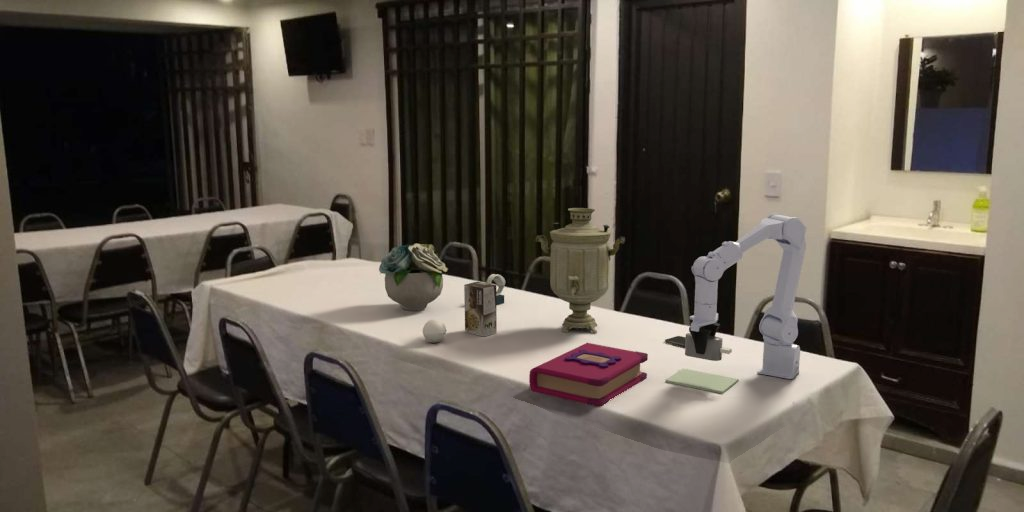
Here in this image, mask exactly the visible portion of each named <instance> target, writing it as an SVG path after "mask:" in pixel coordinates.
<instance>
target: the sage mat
mask: <svg viewBox="0 0 1024 512" xmlns="http://www.w3.org/2000/svg"><path fill="white" fill-rule="evenodd" d="M664 380H665V381H664V382H665V383H668V384H673V385H677V386H678V385H679V386H683V387H687V388H688V387H689V388H693V389H698V390H702V391H703V390H704V391H708V392H713V393H719V394H721V395H722V394H724V393H726V392H727V391H728V390H730V388H732V387H733V386H735V385H736V384H737V383H738V382H739V381H740V379H739V378H736V377H731V376H726V375H725V376H724V375H720V374H716V373H715V374H713V373H709V372H705V371H704V372H703V371H698V370H695V369H694V370H693V369H688V368H681V369H680V370H678V371H677V372H675V373H674V374H672V375H670V376H669V377H667V378H666V379H664Z"/></svg>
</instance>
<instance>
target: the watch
mask: <svg viewBox="0 0 1024 512" xmlns="http://www.w3.org/2000/svg"><path fill="white" fill-rule="evenodd" d="M492 281H493V282H494V283H495V285H497V286H496V287H498V288H497V289H496V306H499V305H503V304H505V295H504V294H502V292H503V291H504V288H505V285H506V280H505V277H503V276H502V275H501V274H495V273H492V274H490V275H489V276H488V277H487V279H486V282H485V283H488V284H492Z"/></svg>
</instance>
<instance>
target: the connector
mask: <svg viewBox="0 0 1024 512" xmlns="http://www.w3.org/2000/svg"><path fill="white" fill-rule="evenodd" d="M685 337H686V340H685V348H684V355H685V356H687V357H691V358H696V359H702V360H707V361H712V362H719V361H722V358H723V357H722V356H723V354H724V355H725V354H727V355H730V354H731V353H732V352H733V349H732V348H730V347H725V346H723V338H722V337H721V336H720V337H719V336H716V335H715V336H709V337H708V340H707V344H706V350H705V353H704V354H697V353H696V350H695V345H694V341H693V338H692V335H691V333H690V332H688V333H685Z"/></svg>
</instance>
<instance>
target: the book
mask: <svg viewBox="0 0 1024 512" xmlns="http://www.w3.org/2000/svg"><path fill="white" fill-rule="evenodd" d="M648 357H649V355H648V353H647V352H641V351H634V350H630V349H628V350H627V349H622V348H618V347H611V346H607V345H601V344H597V343H591V342H586V343H584V344H582V345H579V346H577V347H575V348H573V349H571V350H569V351H567V352H565V353H562V354H560V355H558V356H556V357H554V358H552V359H550V360H548V361H545V362H543V363H541V364H540V365H537V366H535V367H533V368H531V369H530V370H529V377H528V379H529V380H528V382H529V388H530V390H531V391H532V392H535V393H537V394H542V395H546V396H551V397H556V398H560V399H564V400H569V401H572V402H577V403H581V404H586V405H589V406H593V407H603V406H605V405H607V404H608V403H609V402H610V401H611V400H610V399H612V398H613V399H615V398H616V397H615V396H617V395H618V396H620V395H622V394H623V393H625V392H627V391H628V390H630V389H631V388H633V387H634V385H635V386H636V385H638V384H639V383H641V382H643V381H644V380H645V381H646V380H647V378H648V373H647V372H644V371H641V364H643V363H645V362H647V361H648V359H649V358H648ZM632 386H633V387H632ZM629 388H630V389H629ZM627 389H628V390H627ZM624 391H625V392H624ZM622 392H623V393H622ZM621 393H622V394H621ZM619 394H620V395H619ZM618 396H617V397H618ZM614 397H615V398H614ZM613 399H612V400H613ZM609 400H610V401H609ZM608 401H609V402H608ZM607 402H608V403H607ZM606 403H607V404H606ZM604 404H605V405H604Z"/></svg>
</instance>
